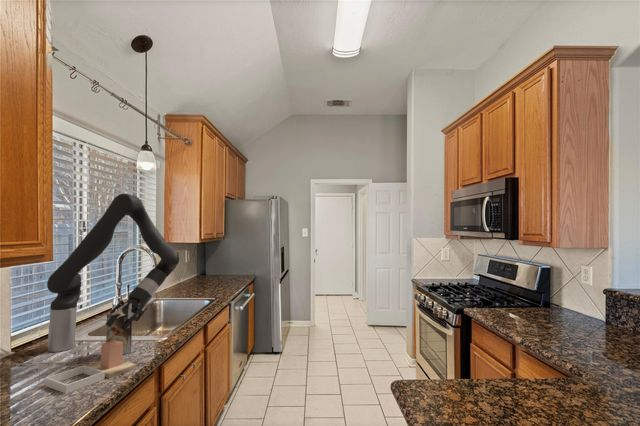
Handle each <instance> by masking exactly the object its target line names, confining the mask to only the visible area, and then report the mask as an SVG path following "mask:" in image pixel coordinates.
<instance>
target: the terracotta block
mask: <svg viewBox="0 0 640 426" xmlns="http://www.w3.org/2000/svg"><path fill="white" fill-rule="evenodd" d="M100 345H101V346H100V361H99V362H100V366H101V367H104V368H107V369H110V368H113V367H116V366H118V365H121V364H122V361H123V356H124V354H123V342H120V341H116V340H114V341H110V342H107V343H106V342H104V343H100Z"/></svg>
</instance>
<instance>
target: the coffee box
mask: <svg viewBox="0 0 640 426" xmlns="http://www.w3.org/2000/svg"><path fill="white" fill-rule="evenodd" d="M118 314H120V313H118ZM118 314H117V315H118ZM111 316H112V314H111V313H108V314H106V322H107V321H108V320H109V319H110V317H111ZM126 319H128V315H126V314H125V315H124V316H120V317H119V318H117V320H116V321H115V322H114V323H113V325H112V326H111V327H108V326H107V325H106V333H105V343H107V342H110V341H114V340H116V341H120V342H123V355H126V354H127V355H128V354H131V353H132V340H133V337H132V336H133V333H132V332H133V322H132V323H131V324H130V325H129V326H128V328H127V329H126V330H122V329H121V328H120V326H121V325H122V324H123V322H124V321H125V320H126Z"/></svg>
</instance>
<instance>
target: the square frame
mask: <svg viewBox="0 0 640 426" xmlns="http://www.w3.org/2000/svg"><path fill="white" fill-rule="evenodd" d="M88 366H89V365H84V364H83V365H81V366H77V367H75V368H72V369H71V368H70V369H68V370H65V371H62V372H59V373H56V374H53V375H49V376H47V377H45V379H44V380H45V381H44V386H45V387H48V388H50V389H53V390H54V391H58V392H60V393H63V394H69V393H71V392H75V391H77V390H80V389H82V388H85V387H87V386H90V385H93V384H96V383H99V382H100V381H103V380H105V378H106V377H105V372H104V371H101V370H98V369H94V368H91V367H88ZM82 374H83V375H88V376H87V377H85V378H82V379H79V380H76V381H73V382H70V383H68V384H67V383H64V382H62V381H64V380H67V379H71V378H73V377H76V376H78V375H82Z"/></svg>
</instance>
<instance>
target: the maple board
mask: <svg viewBox="0 0 640 426" xmlns="http://www.w3.org/2000/svg"><path fill="white" fill-rule="evenodd" d="M87 366H88V367H91V368H94V369H98V370H101V371H104V372H105V377H104V378H106V379H112V378H114V377H117V376H120V375H122V374H125V373H127V372H131V371H133V370H135V369H137V364H136V363H133V362H129V361H125V360H122V364H121V365H118V366H116V367H113V368H110V369H107V368H104V367H101V366H100V361H98V362H95V363H92V364H89V365H87Z"/></svg>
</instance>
